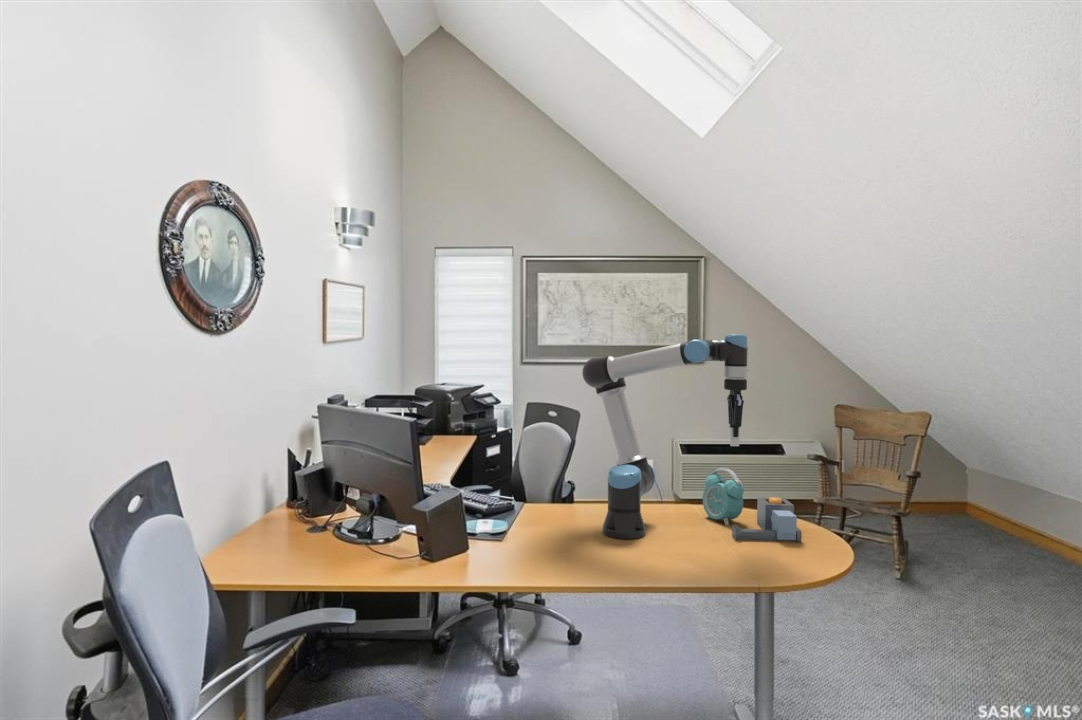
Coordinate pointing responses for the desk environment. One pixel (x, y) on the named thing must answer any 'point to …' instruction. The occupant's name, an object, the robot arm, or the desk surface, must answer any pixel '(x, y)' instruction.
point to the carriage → (784, 524)
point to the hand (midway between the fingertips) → (734, 445)
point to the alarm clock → (723, 496)
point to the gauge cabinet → (770, 511)
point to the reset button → (775, 500)
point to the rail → (759, 534)
